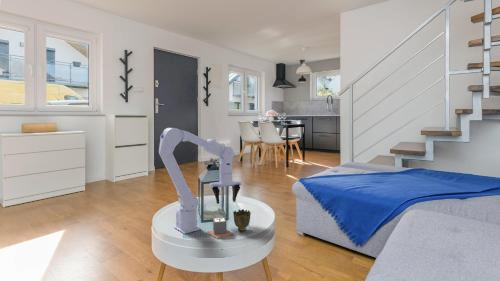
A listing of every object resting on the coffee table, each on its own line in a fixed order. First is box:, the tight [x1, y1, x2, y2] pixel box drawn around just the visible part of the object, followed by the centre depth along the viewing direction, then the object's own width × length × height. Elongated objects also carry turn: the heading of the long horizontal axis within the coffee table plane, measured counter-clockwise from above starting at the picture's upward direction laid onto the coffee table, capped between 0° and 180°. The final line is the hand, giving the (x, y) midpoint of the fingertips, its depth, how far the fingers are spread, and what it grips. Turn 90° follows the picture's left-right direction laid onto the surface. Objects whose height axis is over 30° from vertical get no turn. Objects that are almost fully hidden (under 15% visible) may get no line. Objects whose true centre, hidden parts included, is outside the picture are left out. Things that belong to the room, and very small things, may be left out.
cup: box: [232, 209, 252, 232], centre depth 119 cm, size 8×7×8 cm
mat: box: [205, 229, 234, 240], centre depth 116 cm, size 8×8×1 cm
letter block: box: [212, 217, 228, 235], centre depth 116 cm, size 5×5×5 cm
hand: (226, 202), depth 128 cm, fingers open, 7 cm apart
